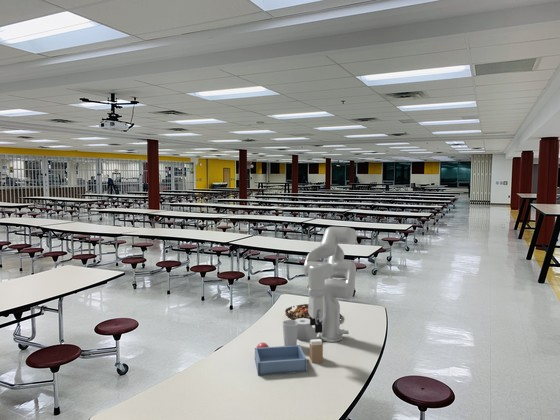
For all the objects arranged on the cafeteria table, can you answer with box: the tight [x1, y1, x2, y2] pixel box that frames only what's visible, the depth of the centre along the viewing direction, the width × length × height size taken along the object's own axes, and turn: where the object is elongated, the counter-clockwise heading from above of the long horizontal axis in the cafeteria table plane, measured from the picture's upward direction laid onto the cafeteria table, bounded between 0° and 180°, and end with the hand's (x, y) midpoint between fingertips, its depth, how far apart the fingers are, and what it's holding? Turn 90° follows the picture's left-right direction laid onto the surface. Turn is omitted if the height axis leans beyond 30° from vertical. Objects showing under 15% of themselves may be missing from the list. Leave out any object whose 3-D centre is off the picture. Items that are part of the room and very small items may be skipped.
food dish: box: [284, 303, 343, 321], centre depth 239 cm, size 35×33×8 cm
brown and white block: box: [309, 338, 324, 363], centre depth 180 cm, size 5×5×9 cm
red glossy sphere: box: [256, 342, 269, 348], centre depth 185 cm, size 6×6×6 cm
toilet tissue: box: [295, 318, 319, 342], centre depth 207 cm, size 9×13×9 cm
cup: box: [282, 319, 298, 346], centre depth 196 cm, size 8×8×12 cm
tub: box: [254, 344, 308, 377], centre depth 175 cm, size 21×15×6 cm
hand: (315, 328), depth 179 cm, fingers open, 9 cm apart
